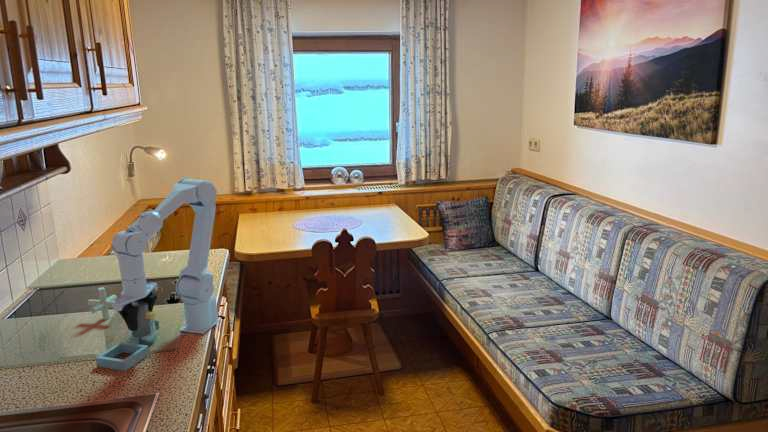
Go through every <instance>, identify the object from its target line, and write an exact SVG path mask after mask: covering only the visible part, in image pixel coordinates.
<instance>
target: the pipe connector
mask: <svg viewBox="0 0 768 432" xmlns="http://www.w3.org/2000/svg"><path fill="white" fill-rule="evenodd" d="M97 290H98V297H99V299H92V298H91V299H88V300H87V305H88V306H92V307H90V308H89V311H90V313H92V314H95V313H97V312H98V311H99V310H101V314H102V319H103V320H104V321H106V320H109V319H110V313H109V307H110V308H113V305H112V303H114V302H116V301H117V300H118V296H117V295H116V294H112V295H109V296H108V297H107V294H106V288H105V287H103V286H102V287H101V286H100V287H99V288H97Z"/></svg>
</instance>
